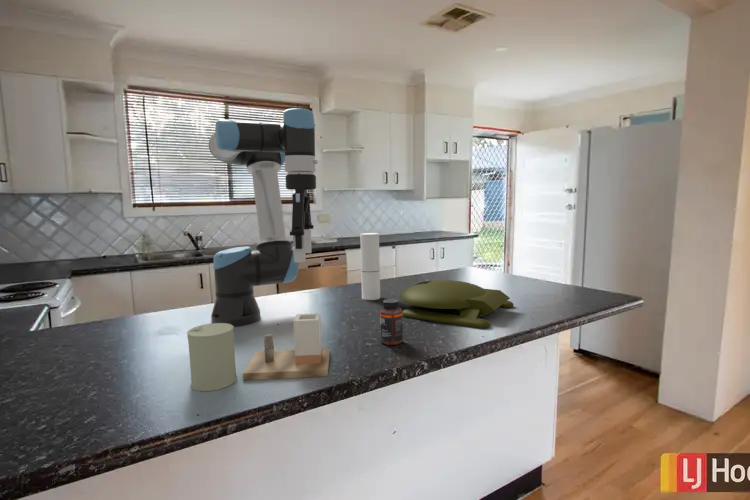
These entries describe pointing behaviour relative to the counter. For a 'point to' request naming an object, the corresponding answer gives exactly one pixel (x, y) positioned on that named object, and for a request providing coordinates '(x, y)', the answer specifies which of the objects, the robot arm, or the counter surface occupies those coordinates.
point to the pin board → (283, 364)
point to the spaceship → (454, 302)
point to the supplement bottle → (391, 323)
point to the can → (212, 356)
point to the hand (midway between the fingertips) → (303, 257)
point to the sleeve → (308, 338)
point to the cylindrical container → (370, 266)
